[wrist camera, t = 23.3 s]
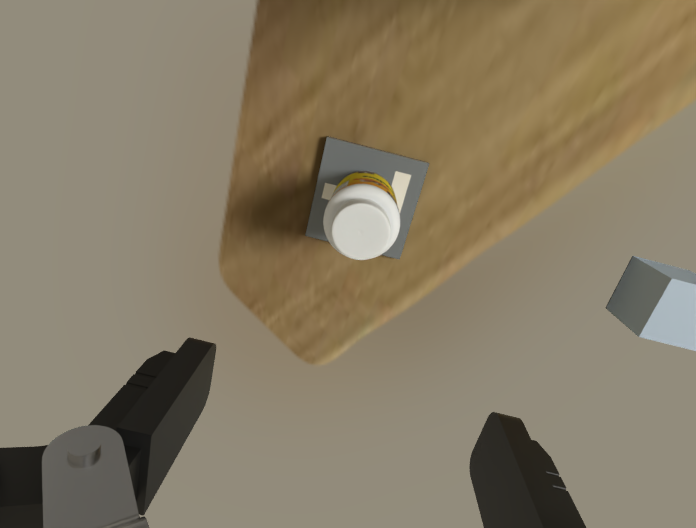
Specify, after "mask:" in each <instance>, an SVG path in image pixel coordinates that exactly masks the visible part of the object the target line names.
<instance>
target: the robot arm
mask: <svg viewBox="0 0 696 528" xmlns="http://www.w3.org/2000/svg"><path fill="white" fill-rule="evenodd" d="M215 353H216V345H215V344H214V343H210V342H205V341H202V340H197V339H193V338H188V339H187V340H186V341H185V342H184V344H183V345H182V346H181V347H180V348H179V350H178V351H177V352H176V353H172V352H168V351H162V352H160V353H159V354H157V355H155V356H153V357H151V358H149V359H147V360H146V361H145V362H144V363H143V365H142V366H141V367H140V368H139V369H138V370H137V371H136V374H135V375H133V376H132V377H131V378H130V379H129V380H128V382H127V384H126V385H124V386H123V387H122V388H121V389H120V390H119V391H118V393H117V394H116V395H115V396H114V397H113V398H112V399H111V400H110V402H109V403H108V404H107V405H106V406H105V407H104V408H103V409H102V411H101V412H100V413H99V414H98V415H97V416H96V417H95V418H94V419H93V421H92V422H91V423H90V424H89V425H88V426H81V427H78V428H74V429H71V430H69V431H67V432H65V433H63V434H61V435H59V436H58V437H56V438H55V439H54V440H53V441H52V442H51V443H50V444H49V445H46V446H38V447H16V448H14V447H13V448H0V528H149V525H148V522H147V520H146V518H145V517H141V518H140V516H139V514H140V515H144V514H145V512H146V510H147V509H148V507H149V505H150V503H151V501H152V499H153V498H154V496H155V494H156V493H157V490H158V489H159V487H160V485H161V484H162V482H163V480H164V478H165V477H166V475H167V473H168V471H169V469H170V467H171V466H172V464H173V462H174V460H175V458H176V457H177V455H178V453H179V452H180V450H181V448H182V446H183V444H184V443H185V441H186V439H187V437H188V436H189V434H190V432H191V430H192V428H193V427H194V425H195V423H196V421H197V419H198V418H199V416H200V414H201V412H202V410H203V408H204V406H205V404H206V401H207V398H208V395H209V391H210V385H211V379H212V372H213V366H214V360H215ZM470 476H471V480H472V484H473V487H474V491H475V495H476V499H477V502H478V506H479V510H480V514H481V518H482V522H483V526H484V528H586V526H585V524H584V522H583V520H582V518H581V516H580V514H579V512H578V510H577V509H576V506H575V504H574V502H573V500H572V498H571V496H570V494H569V493H568V491H566V487H565V485H564V483H563V481H562V479H561V477H559V473H558V471H557V469H556V467H555V465H554V463H553V461H552V459H551V457H550V456H549V455H548V454H547V453H546V451H545V450H544V449H543V448H542V447H541V446H540V445H539V443H538V442H537V441H534V440H531V438H530V436H529V434H528V432H527V430H526V428H525V426H524V424H523V422H522V420H521V419H520V418H516V417H512V416H508V415H504V414H500V413H495V412H492V413H491V414H490V415H489V417H488V419H487V421H486V423H485V425H484V427H483V429H482V432H481V434H480V436H479V438H478V440H477V443H476V445H475V447H474V449H473V451H472V455H471V458H470Z"/></svg>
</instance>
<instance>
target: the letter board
mask: <svg viewBox="0 0 696 528" xmlns="http://www.w3.org/2000/svg"><path fill="white" fill-rule="evenodd" d="M428 166H429V163H428V162H424V161H421V160H417V159H413V158H409V157H405V156H401V155H398V154H394V153H390V152H386V151H382V150H378V149H375V148H371V147H367V146H363V145H359V144H355V143H352V142H348V141H344V140H340V139H336V138H332V137H329V136H328V137H327V139H326V143H325V148H324V153H323V157H322V162H321V166H320V171H319V175H318V180H317V184H316V189H315V194H314V198H313V203H312V207H311V212H310V216H309V221H308V225H307V230H306V235H305V236H309V237H313V238H317V239H320V240H324V241H328V239H327V237H326V234H325V231H324V226H323V218H324V212H325V209H326V206H327V204H328V202H329V200H330V198H331V196H332V194H333V192H334V190H335V188H336V187H337V185H338V184H339V182H340V181H341V180H342V179H343V178H345V177H346V176H347V175H349V174H351V173H354V172H357V171H371V172H374V173H377V174H379V175H381V176H382V177H384V178H385V179H386V180H387V181H388V182H389V183H390V185H391V186H392V188H393V190H394V193H395V197H396V201H397V205H398V209H399V213H400V229H399V233H398V236H397V238H396V240H395V242H394V243H393V245H392V246H391V247H390V248H389V249H388V250H387V251H386V252H384V253H383V254H381V255H384V256H388V257H392V258H396V259H400V256H401V253H402V250H403V247H404V244H405V240H406V237H407V234H408V231H409V227H410V224H411V221H412V218H413V215H414V211H415V208H416V205H417V202H418V198H419V195H420V192H421V189H422V186H423V182H424V179H425V176H426V173H427V169H428ZM328 242H329V241H328Z"/></svg>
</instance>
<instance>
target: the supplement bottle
mask: <svg viewBox="0 0 696 528" xmlns="http://www.w3.org/2000/svg"><path fill="white" fill-rule="evenodd" d="M323 226H324V231H325V234H326V237H327V239H328V241H329V242H330V244H331V245H332V246H333V247H334V248H335V249H336V250H337V251H338V252H339V253H341V254H342V255H344V256H346V257H349V258H352V259H356V260H366V259H371V258H375V257H377V256H379V255H381V254H383V253H384V252H386V251H387V250H388V249H389V248H390V247H391V246H392V245H393V243H394V242H395V240H396V238H397V236H398V233H399V229H400V213H399V209H398V205H397V201H396V197H395V193H394V190H393V188H392V186H391V185H390V183H389V182H388V181H387V180H386V179H385V178H384V177H382V176H381V175H379V174H377V173H374V172H371V171H357V172H354V173H351V174H349V175H347V176H346V177H345V178H343V179H342V180H341V181H340V182H339V184H338V185H337V187H336V188H335V190H334V192H333V194H332V196H331V198H330V200H329V202H328V204H327V206H326V209H325V212H324V218H323Z"/></svg>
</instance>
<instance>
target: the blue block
mask: <svg viewBox="0 0 696 528" xmlns="http://www.w3.org/2000/svg"><path fill="white" fill-rule="evenodd" d="M606 309H608V310H609V311H610V312H611V313H612V314H613V315H614V316H616V317H617V318H618V319H619V320H620V321H621V322H623V323H624V324H625V325H626V326H627V327H628V328H629V329H630V330H632V331H633V332H634V333H635V334H636V335H637V336H639V337H642V338H646V339H650V340H654V341H658V342H662V343H666V344H670V345H674V346H678V347H682V348H686V349H690V350H694V351H696V274H695V273H693V272H691V271H690V270H686V269H682V268H678V267H675V266H671V265H667V264H662V263H659V262H654V261H651V260H647V259H643V258H639V257H635V256H632V258H631V260H630V261H629V263H628V265H627V267H626V269H625V271H624V273H623V275H622V277H621V279H620V281H619V283H618V285H617V286H616V289H615V290H614V292H613V294H612V296H611V298H610V300H609V302H608V304H607V306H606Z"/></svg>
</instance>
